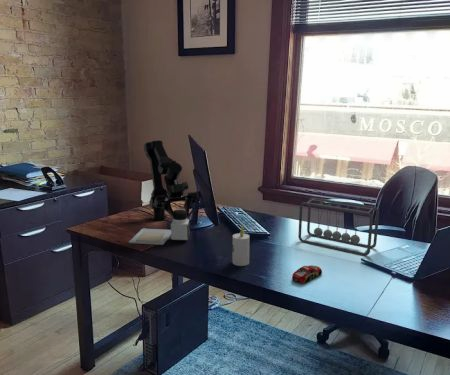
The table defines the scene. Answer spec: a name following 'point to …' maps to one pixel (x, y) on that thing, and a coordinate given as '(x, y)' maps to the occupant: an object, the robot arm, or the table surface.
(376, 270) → the table surface
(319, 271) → the race car
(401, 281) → the table surface
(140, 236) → the board
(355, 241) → the newton's cradle
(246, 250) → the candle
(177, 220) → the medicine bottle
